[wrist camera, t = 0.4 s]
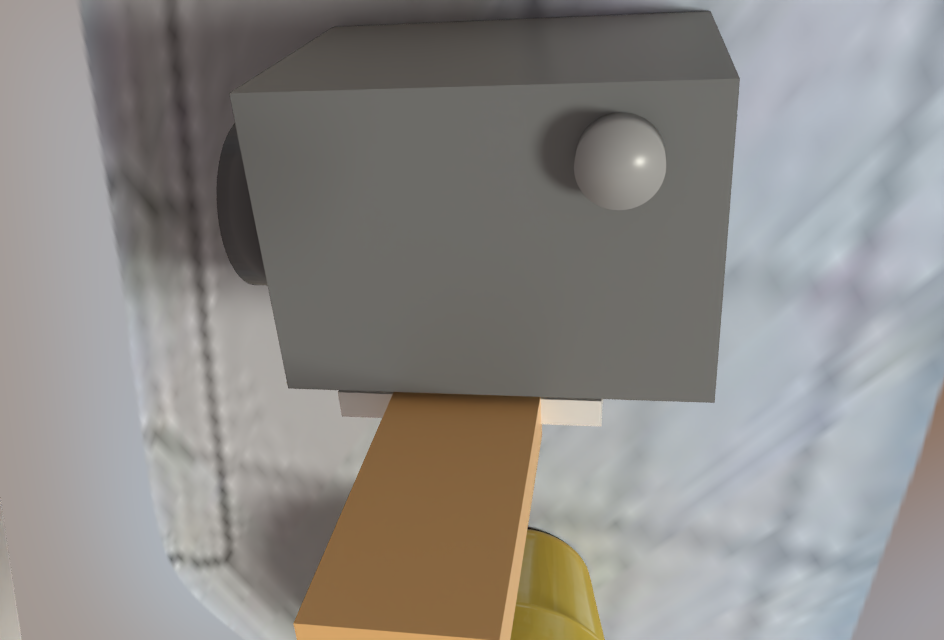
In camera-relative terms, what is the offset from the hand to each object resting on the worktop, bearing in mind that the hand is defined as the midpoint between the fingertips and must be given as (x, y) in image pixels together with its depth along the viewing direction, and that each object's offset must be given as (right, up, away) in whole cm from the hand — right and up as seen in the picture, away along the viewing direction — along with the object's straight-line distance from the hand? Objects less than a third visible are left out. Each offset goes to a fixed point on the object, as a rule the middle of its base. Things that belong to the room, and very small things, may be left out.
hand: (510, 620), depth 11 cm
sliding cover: (+1, +5, +25) cm, 26 cm away
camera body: (0, +11, +23) cm, 26 cm away
